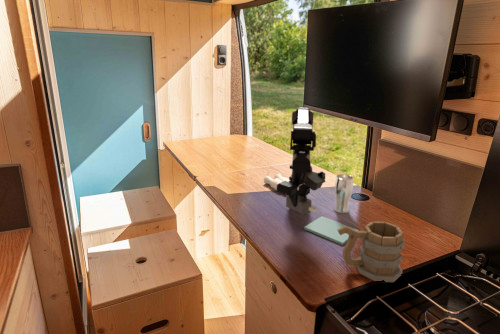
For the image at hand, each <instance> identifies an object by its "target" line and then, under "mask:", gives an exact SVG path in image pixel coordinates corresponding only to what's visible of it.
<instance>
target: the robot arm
mask: <svg viewBox="0 0 500 334" xmlns="http://www.w3.org/2000/svg"><path fill="white" fill-rule="evenodd" d="M291 125H292V126H293V128H292V129H291V130H290V143H289V144H290V145H289V149H290V151H292V162H291V164H289V169H290V170H291V174H290V176H289V177H288V179H289V182H287V181H283V182H281V183H279V184H278V185H277V190H276V192H279V193H281V194H284V195H288V196H289V198H290V200H291V202H292V204H293V206H294V207H296V206H297V200H298V195H299V196H302V197H305V198H307V199H308V197H307V196H308V195H309V194H310V193H311V191H317V190H318V189H321V187H322V186H323V184H324V183H326V173H325V172H324V171H319V172H315V171H313V167H312V166H311V151H312V152H314V151H315V148H316V147H317V134H316V132H315V130H313V125H314V112H312V111H311V108H309V107H302V106H301V107H296V110H294V111H293V112H292V113H291Z"/></svg>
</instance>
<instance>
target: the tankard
mask: <svg viewBox="0 0 500 334" xmlns="http://www.w3.org/2000/svg"><path fill="white" fill-rule="evenodd" d="M347 226H348V225H347ZM347 226H344V227H342V228H339V229H338V232H339V234H340V235H342V234H344V233H347V234H348V235H349V237H348V241H347V242H346V243H345V244H344V247H343V249H342V259H344V262H345V264H346V265H349V266H353V267H354V266H356V268H357V270H358V271H357V272H358V273H359V274H360V275H361V276H363V277H366V278H368V279H369V280H371V281H373V282H375V281H382V280H384V281H385V282H384V283H395V282H396V281H397V280H398V278H400V277H401V276H402V275H403V269H402V268H401V266H400V264H401V263H402V260H403V254H401V252H402V250H403V249H404V248H405V243H406V242H405V240H404V232H403V231H402V229H401V228H400V227H399V226H398V225H395V224H393V223H390V222H388V221H387V222H386V221H370V222H369V223H367V224H365V225H364V229H363V230H359V231H356V230H354V229H351V228H349V227H350V226H349V227H347ZM357 238H360V240H361V242H362V245H360V246H359V250H358V253H359V255H360V256H359V257H357V258H356V257H355V258H354V257H351V253H352V250H353V249H354V247H355V245H356V242H357ZM401 274H402V275H401Z"/></svg>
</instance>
